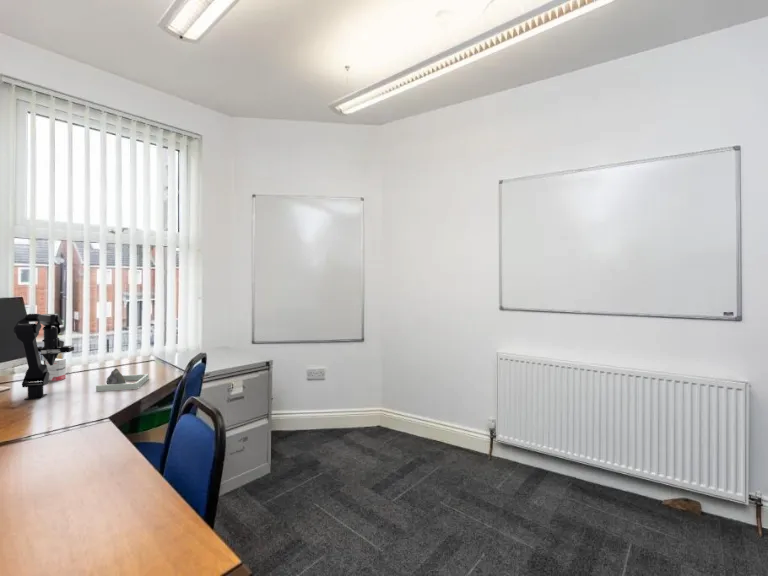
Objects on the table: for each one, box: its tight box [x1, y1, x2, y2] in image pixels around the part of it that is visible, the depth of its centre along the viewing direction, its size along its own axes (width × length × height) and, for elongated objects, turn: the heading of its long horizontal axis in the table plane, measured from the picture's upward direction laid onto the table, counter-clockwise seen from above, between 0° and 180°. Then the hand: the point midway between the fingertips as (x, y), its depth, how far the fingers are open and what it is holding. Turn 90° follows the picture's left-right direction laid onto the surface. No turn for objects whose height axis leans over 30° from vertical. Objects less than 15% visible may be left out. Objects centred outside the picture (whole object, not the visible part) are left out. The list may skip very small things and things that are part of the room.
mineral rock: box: [106, 368, 126, 385], centre depth 209 cm, size 13×11×10 cm
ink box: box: [45, 358, 67, 382], centre depth 218 cm, size 9×5×12 cm, turn 84°
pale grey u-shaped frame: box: [95, 373, 150, 392], centre depth 210 cm, size 19×19×3 cm
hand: (51, 365), depth 204 cm, fingers closed
